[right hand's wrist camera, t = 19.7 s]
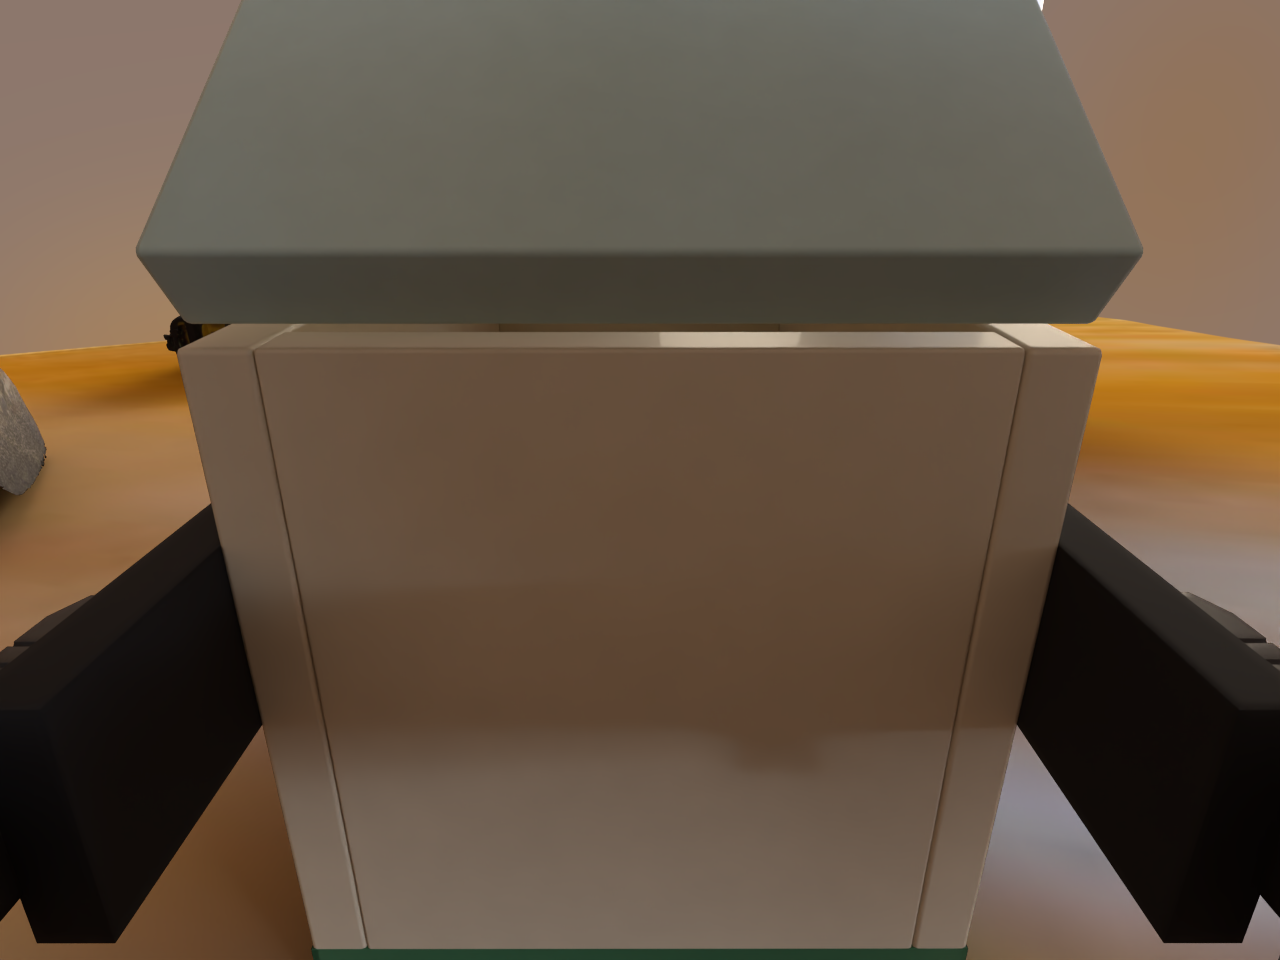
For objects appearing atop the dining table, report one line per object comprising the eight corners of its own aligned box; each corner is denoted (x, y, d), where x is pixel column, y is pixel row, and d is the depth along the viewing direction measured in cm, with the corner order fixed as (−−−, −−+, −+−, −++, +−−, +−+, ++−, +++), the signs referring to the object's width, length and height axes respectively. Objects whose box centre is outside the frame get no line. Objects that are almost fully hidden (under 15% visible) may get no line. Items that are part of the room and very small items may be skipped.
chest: (492, 530, 28) (466, 211, 24) (786, 529, 28) (811, 211, 24) (321, 995, 13) (170, 349, 9) (957, 994, 13) (1108, 348, 9)
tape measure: (233, 350, 56) (223, 295, 55) (328, 352, 55) (321, 296, 54) (171, 374, 50) (158, 312, 48) (278, 376, 49) (268, 314, 48)
